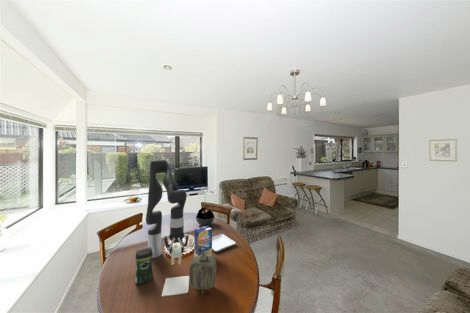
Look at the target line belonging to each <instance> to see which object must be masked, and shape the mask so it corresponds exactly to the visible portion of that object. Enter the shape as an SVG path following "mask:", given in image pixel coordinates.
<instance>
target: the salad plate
mask: <svg viewBox="0 0 470 313" xmlns="http://www.w3.org/2000/svg"><path fill="white" fill-rule="evenodd" d="M234 245H236V241H234V240H233V239H231V238H229V237H228V236H226V235H225V234H223V233H221V234H218V235H215V236H212V251H214V253H215V252H216V253H217V252H220V251H222V250H225V249H227V248H230V247H233V246H234Z"/></svg>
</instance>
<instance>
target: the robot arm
mask: <svg viewBox="0 0 470 313" xmlns="http://www.w3.org/2000/svg"><path fill="white" fill-rule="evenodd" d="M163 173H164V174H165V175H164V177H163V179H162V185H163V186H162V185H161V184H160V182H159V181H158V179H157V174H163ZM163 187H164V189H165V191H166V193H167V195H166V196H167V201H168V203H170V204H176V205H173V207H171V209H170V221H169V235H165V236H164V237H163V238H164V239H163V240H164V245H165V249H169V250H168V253H169V255H170V256H171V252H172V248H173V244H175V243H178V244H179V245H180V248H181V254H184V252H185V247H187V246H188V242H189V236H190V235H189V234H185V232H184V228H185V227H184V224H185V222H184V210H185V204H186V201H187V196H188V195H187V191H185V190H183V189H179V186H178V183H177V182H176V180H175V179H174V175H173V174H172V171H171V169H170V165H169V163H168V161H167V160H166V159H152V160H150V164H149V185H148V192H147V193H148V194H147V195H148V196H147V208H146V214H145V224H146V225H148V226H151V225H153V226H151V227H150V228H149V229H148V230H147V248H149V247H151V248H152V252H153V256H152V259H156V258H159V257H160V256H161V255H162V224H163V223H162V222H163V214H162V211H161V210H154V209H155V207H157V205H158V204H159V203H160V201H161V200H162V198H163V192H164V190H163ZM183 239H185V242H184V241H183ZM169 240H170V241H171V242H170V244H169Z"/></svg>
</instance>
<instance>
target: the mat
mask: <svg viewBox="0 0 470 313" xmlns="http://www.w3.org/2000/svg"><path fill="white" fill-rule="evenodd" d="M189 287H190V282H189V275H184V276H175V277H166V278H165V282H164V284H163V289H162V292H161V297H163V298H164V297H168V296H170V297H171V296H176V295H183V294H189Z"/></svg>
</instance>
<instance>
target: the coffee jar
mask: <svg viewBox="0 0 470 313" xmlns="http://www.w3.org/2000/svg"><path fill="white" fill-rule="evenodd" d="M152 256H153V252H152V248H151V247H149V248H148V247H145V248H141V249H138V250H136V252H135V257H134V259H135V262H136V263H135V264H136V267H135V279H134V280H135V283H136V284H137V285H141V284H144V283H148V282H150V281H152V279H153V278H154V273H153V265H152V264H153V262H152V259H153V258H152Z"/></svg>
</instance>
